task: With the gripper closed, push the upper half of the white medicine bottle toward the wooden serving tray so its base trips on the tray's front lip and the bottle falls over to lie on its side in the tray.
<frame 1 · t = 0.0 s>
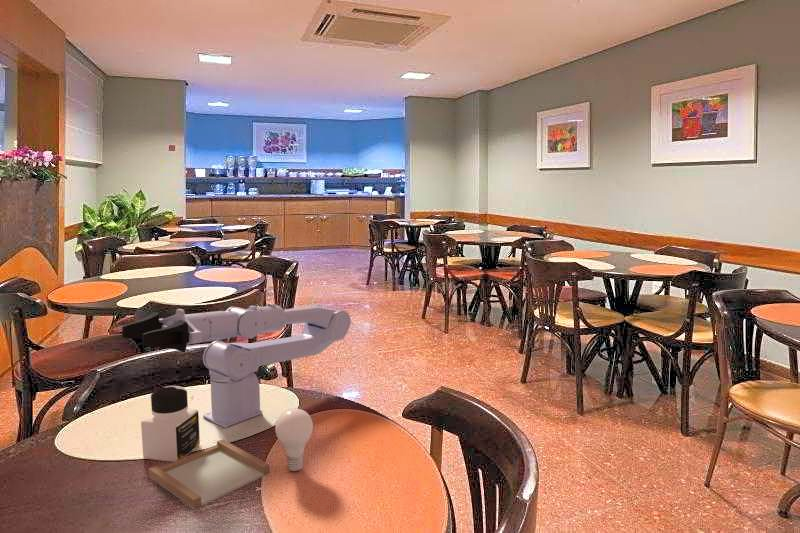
hand: (132, 335, 99), 22 cm above the table, tool horizontal, fingers open, 7 cm apart
wooden serving tray: (210, 475, 94), on the table
lightbulb: (295, 471, 96), on the table
medicine bottle: (172, 452, 102), on the table
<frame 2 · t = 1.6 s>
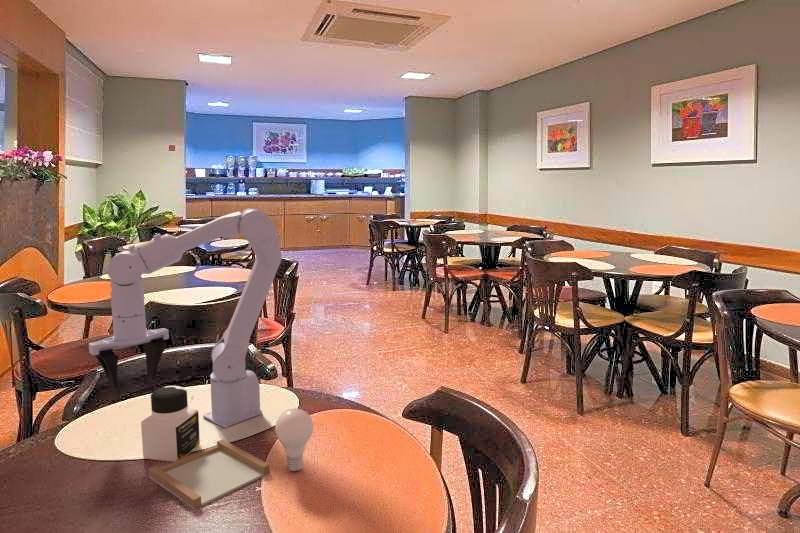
hand: (133, 381, 109), 10 cm above the table, tool pointing down, fingers open, 7 cm apart
nothing on the table moved.
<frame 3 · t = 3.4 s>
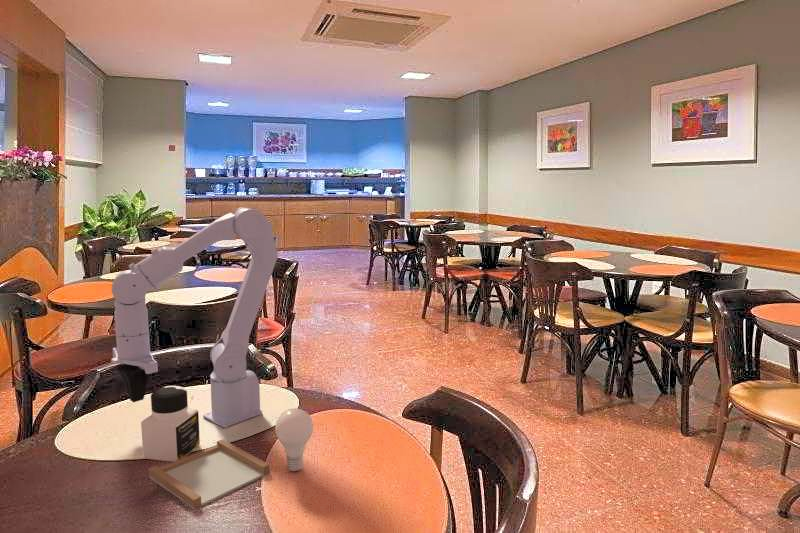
hand: (137, 399, 109), 6 cm above the table, tool pointing down, fingers closed
nothing on the table moved.
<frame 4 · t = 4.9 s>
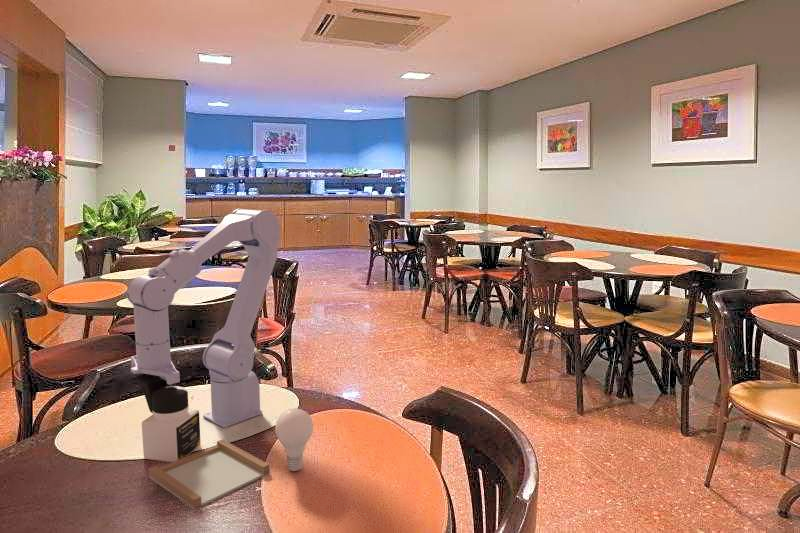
hand: (156, 411, 104), 6 cm above the table, tool pointing down, fingers closed, pressing on medicine bottle
medicine bottle: (173, 453, 102), on the table, touching gripper
everything else where it was.
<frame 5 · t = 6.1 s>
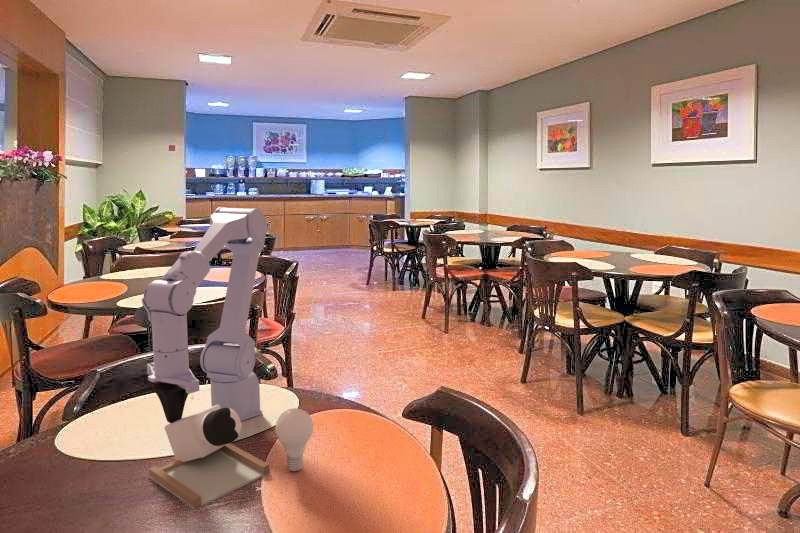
hand: (174, 420, 100), 6 cm above the table, tool pointing down, fingers closed, pressing on medicine bottle
medicine bottle: (185, 437, 101), point 3 cm above the table, touching gripper
everything else where it was.
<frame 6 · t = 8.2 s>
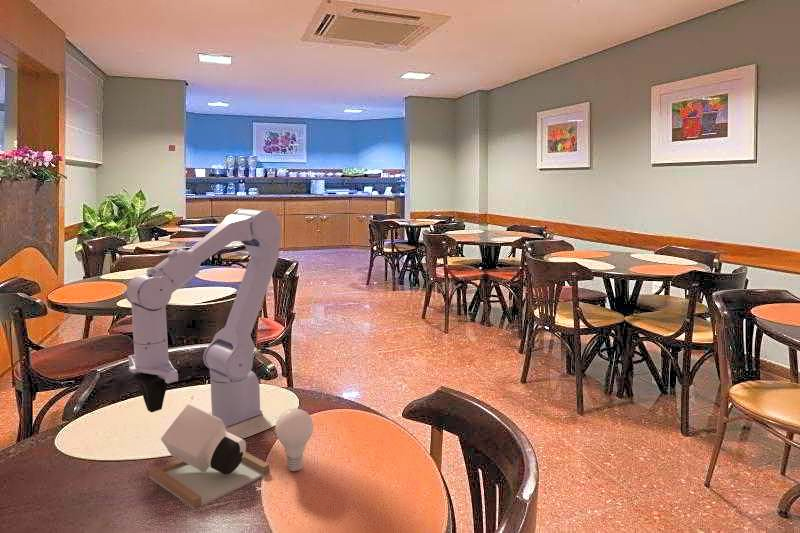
hand: (154, 409, 105), 6 cm above the table, tool pointing down, fingers closed
medicine bottle: (178, 428, 95), point 7 cm above the table, touching wooden serving tray
everything else where it was.
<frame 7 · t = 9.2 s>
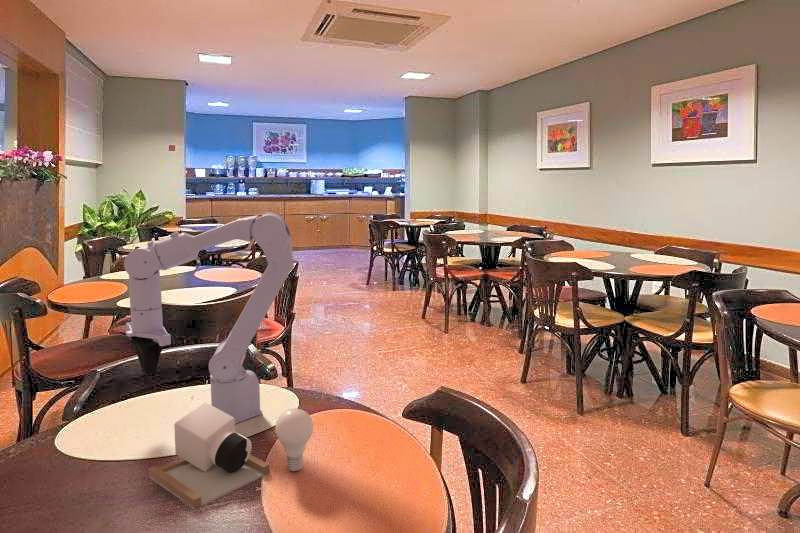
hand: (149, 372, 113), 10 cm above the table, tool pointing down, fingers closed
medicine bottle: (189, 426, 98), point 6 cm above the table, touching wooden serving tray
everything else where it was.
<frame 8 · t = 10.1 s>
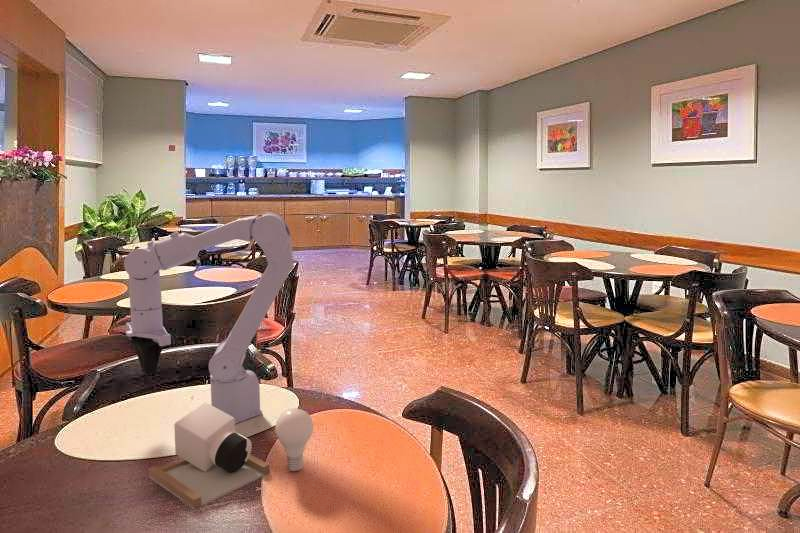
hand: (149, 372, 113), 10 cm above the table, tool pointing down, fingers closed
nothing on the table moved.
at the end: medicine bottle tilted 104°; medicine bottle inside the target area (7.7 cm from its centre), point 6.2 cm above the table; medicine bottle moved 8.2 cm from its start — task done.
